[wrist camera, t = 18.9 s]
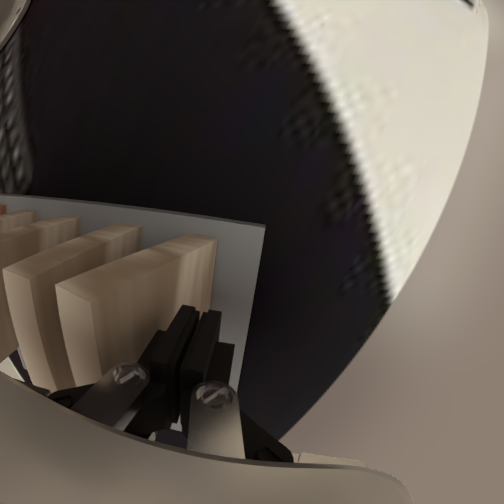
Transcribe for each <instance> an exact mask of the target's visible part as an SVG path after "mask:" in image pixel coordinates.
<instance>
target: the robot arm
mask: <svg viewBox="0 0 504 504" xmlns="http://www.w3.org/2000/svg"><path fill="white" fill-rule="evenodd" d="M30 2H31V0H0V51H1V49H2V48H3V47H4V45H5V44H6V43H7V41H8V40H9V38H10V37H11V36H12V34H13V33H14V31H15V29H16V28H17V26H18V25H19V23H20V21H21V20H22V18H23V16H24V14H25V13H26V11H27V9H28V6H29V4H30ZM221 317H222V311H216V310H210V309H209V310H208V312H203V313H202V316H201V318H200V311H197V310H196V307H194V306H188V305H183V304H182V306H181V307H180V309H179V310H178V312H177V314H176V315H175V317H174V319H173V320H172V322H171V324H170V325H169V327H168V329H167V330H166V331H163V330H158V331H157V332H156V333H155V335H154V336H153V338H152V339H151V341H150V342H149V344H148V346H147V347H146V349H145V350H144V352H143V353H142V355H141V356H140V358H139V360H138V361H137V363H134V362H122V363H119V364H116V365H115V366H113V367H112V368H111V369H110V370H109V371H108V372H107V373H106V374H105V375H104V376H103V377H102V378H101V379H100V380H99V381H98V382H97V383H93V384H88V385H84V386H79V387H74V388H68V389H63V390H58V391H55V392H53V393H51V391H50V390H49V389H45V388H42V387H38V386H35V385H32V384H29V383H26V382H23V381H20V380H17V379H14V378H12V377H10V376H8V375H6V374H5V373H3V372H1V371H0V504H415V503H414V501H413V499H412V498H411V496H410V494H409V492H408V490H407V489H406V487H405V486H404V485H403V483H402V482H401V481H400V480H398V479H397V478H396V477H394V476H392V475H390V474H388V473H385V472H382V471H378V470H374V469H370V468H368V467H367V465H366V464H364V463H362V462H361V461H357V460H351V459H342V458H333V457H327V456H320V455H314V454H309V453H303V452H301V454H300V455H298V454H293V453H291V452H290V450H288V449H287V448H286V447H285V446H284V445H283V444H281V443H280V442H279V441H277V440H276V439H275V438H274V437H272V436H271V435H270V434H269V433H267V432H266V431H265V430H264V429H262V428H261V427H260V426H259V425H258V424H256V423H255V422H254V421H253V420H252V419H250V418H249V417H248V416H247V415H246V414H245V413H243V412H242V411H241V410H240V409H239V403H238V396H237V393H236V391H235V390H234V389H233V388H232V387H231V386H229V381H230V374H231V368H232V361H233V355H234V348H235V344H231V343H225V342H219V334H220V326H221ZM199 319H200V320H199ZM179 416H180V422H181V425H182V433H183V435H184V436H185V437H186V438H187V439H188V448H187V449H182V448H178V447H174V446H170V445H166V444H162V443H158V442H155V441H154V440H155V438H156V436H157V431H159V430H162V429H168V430H170V428H171V425H172V423H175V424H177V422H178V420H179Z"/></svg>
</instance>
